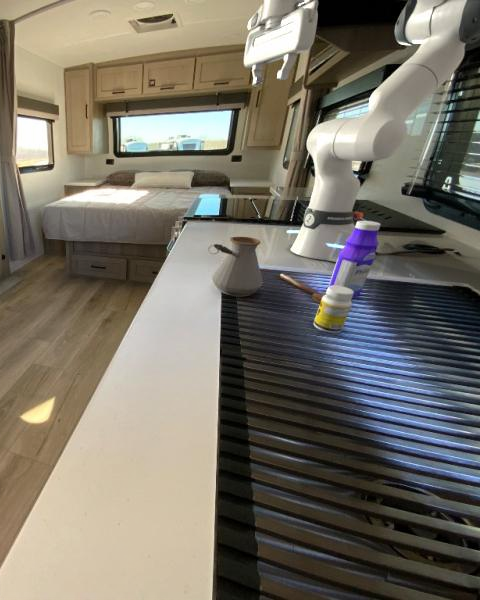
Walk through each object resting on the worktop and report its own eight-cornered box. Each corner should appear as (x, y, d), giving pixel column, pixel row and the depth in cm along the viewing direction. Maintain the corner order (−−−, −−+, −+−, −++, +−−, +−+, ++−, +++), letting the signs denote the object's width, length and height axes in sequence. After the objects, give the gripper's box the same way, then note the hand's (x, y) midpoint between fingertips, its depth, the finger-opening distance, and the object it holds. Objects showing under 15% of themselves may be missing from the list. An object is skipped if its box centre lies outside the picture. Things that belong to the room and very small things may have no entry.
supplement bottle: (317, 319, 69) (330, 282, 65) (344, 328, 66) (360, 289, 62) (309, 327, 66) (322, 288, 62) (336, 336, 63) (352, 297, 59)
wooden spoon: (272, 277, 90) (273, 273, 89) (287, 276, 90) (288, 272, 90) (322, 305, 75) (323, 300, 74) (339, 303, 75) (341, 299, 75)
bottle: (345, 302, 76) (374, 227, 68) (320, 292, 81) (345, 221, 73) (364, 296, 78) (394, 223, 71) (339, 287, 83) (365, 218, 75)
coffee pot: (223, 277, 90) (233, 222, 83) (267, 290, 82) (283, 230, 75) (179, 302, 77) (188, 239, 70) (227, 319, 69) (242, 251, 63)
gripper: (334, -8, 66) (313, 75, 72) (267, 24, 84) (255, 88, 90) (305, -9, 65) (286, 75, 71) (244, 23, 83) (233, 88, 89)
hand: (268, 82), depth 81 cm, fingers open, 8 cm apart
